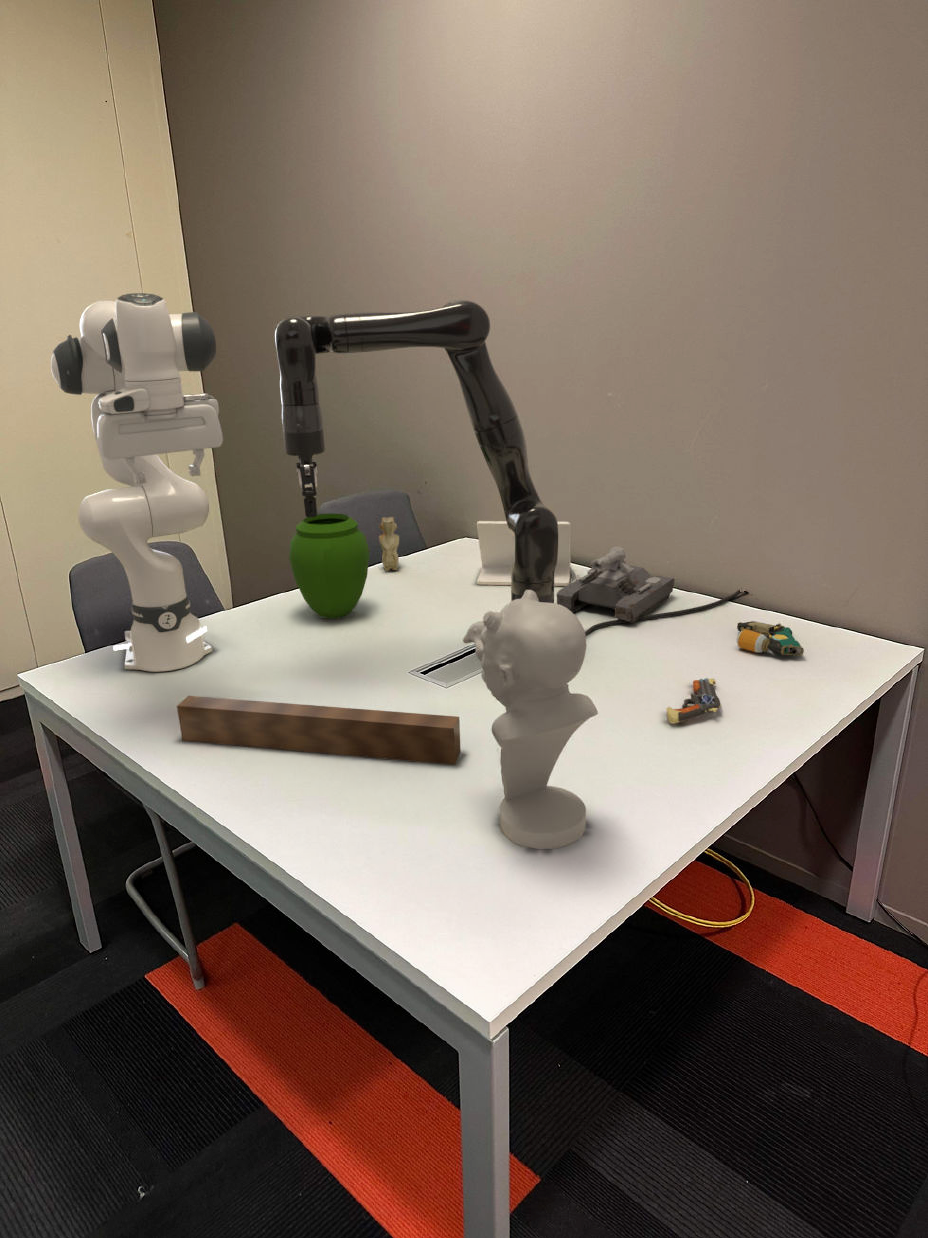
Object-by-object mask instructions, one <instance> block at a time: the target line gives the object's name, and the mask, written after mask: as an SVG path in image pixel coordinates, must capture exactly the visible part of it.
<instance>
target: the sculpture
mask: <svg viewBox="0 0 928 1238" xmlns="http://www.w3.org/2000/svg"><path fill="white" fill-rule="evenodd" d="M378 526H379V527H378V528H379V529H380V530H381V531H382V532H383V534H380V535H379V536H378V541H379V544H380V548H381V549H382V554H381V563H382V566H383V568H384V571H385V572H386V571H387V572H388V571H390V570H391V569H392V571H397V570H398V566H399V560H400V559H399V558H400V557H399V554H398V551H397V550H398V547H399V544H400V535H398V534H397V533H395V531H396V530H397V528H398V525H397V523H396V522H395V518H394V516H389V517H385V516H383V517H381V523H380V524H379V525H378Z"/></svg>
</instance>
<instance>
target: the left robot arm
mask: <svg viewBox="0 0 928 1238" xmlns="http://www.w3.org/2000/svg"><path fill="white" fill-rule="evenodd" d="M79 332H80V336H79V337H77V336H75V337H72V335H71V334H69V335H67V336H66V340H63V341H61V342H60V343H58V344H57V345H56V346H55V348H54V349H53V350H52V356H51V359H50V370H51V374H52V376H53V379H54V381H55V382H56V383H57V386H58V387H59V389H61V391H63V392H64V393H65V394H70V395H75V396H76V395H79V396H82V394H88V395H89V394H90V395H92V394H93V395H96V396H94V398H93V400H92V402H91V406H90V415H91V426H92V431H93V435H94V439H95V443H96V447H97V451H98V453H99V457H100V460H101V464H102V467H103V469H104V471H105V473H107V475H108V476H109V477H110V478H112V480H114V481H116V482H118V483H120V484H122V485H123V484H124V485H126V487H125V486H124V487H119V488H109V489H105V490H102V491H98V492H95V493H92V494H90V495H87V496H85V497H84V498H83V499H82V501H81V503H80V506H79V507H78V515H77V517H78V523H79V526H80V528H81V530H82V532H83V533H84V534H85V536H86V537H88V539H90V540H91V541H92V542H94V543H95V544H98V545H100V546H102V547H104V548H106V549H107V550H109V551H110V552H111V553H112V554H113V555H114V556H115V557H116V558H117V560H118V561H119V562H120V564H121V565H122V567H123V569H124V571H125V575H126V578H127V581H128V584H129V589H130V594H131V599H132V601H131V603H130V605H131V608H130V610H131V615H132V619H133V621H132V624H131V626H130V630H125V631H124V638H125V642H127V643H125V644H118V645H114V646H112V648H113V651H119V650H125V658H124V670H130V671H131V670H139V671H144V672H153V673H159V672H169V671H175V670H176V671H177V670H179V669H184V668H187V667H190V666H192V665H194V664H196V663H197V662H199V661H200V660H201V659H203V657H205V656H206V655H209V654H210V653H212V652H213V650H214V649H213V646H212V645H211V644H209V643H207V642H205V641H204V637H203V634H204V633H207V632H208V629H207V626H203V627H201V622H200V621H201V620H200V619H199V617H197V616H196V615H195V614H193V613H191V612H192V610H191V609H192V608H191V601H190V598H189V594H187V591H186V583H185V578H184V572H183V565H182V563H181V562H180V560H179V559H178V558H177V557H175V556H174V555H172V554H170V553H167V552H164V551H161V550H157V549H155V548H152V547H150V546H149V544H148V540H149V539H152V538H158V537H159V538H160V537H163V536H164V537H165V536H171V535H179V534H184V533H187V532H190V531H193V530H195V529H198V528H201V527H202V526H203V525H204V524H205V523H206V521H207V519H208V517H209V513H210V502H209V499H208V497H207V495H206V492H205V491H204V490H203V489H202V488H201V486H199V485H198V484H197V483H195V482H194V481H193V482H192V481H190V480H189V479H185V478H183V477H181V476H179V475H178V474H176V472H174V471H172V470H171V469H170V468H168V466H166V464H165V463H164V462H163V461H162V460H161V458H160V456H159V455H162V454H172V453H179V452H189V451H192V454H193V455H194V456H195V457H194V460H193V463H192V464H189V465H187V466H188V470H189V471H188V473H189V476H190V477H199V476H200V477H201V474H202V473H201V465H202V463H203V460H204V458H205V455H206V454H205V450H206V449H214V448H215V449H216V448H220V447H221V446H222V444H223V442H224V436H223V431H222V427H221V423H220V419H219V415H220V408H219V402H218V399H216V398H215V396H213V395H210V394H209V393H208V392H203V393H197V394H196V393H188V394H184V392H183V386H182V385H183V384H182V378H181V374H180V372H200V373H201V372H204V371H205V370H206V369H207V368H209V366H210V365H211V364H212V363H213V361H214V359H215V358H216V354H217V342H216V337H215V332H214V330H213V327H212V325H211V323H210V322H209V321H208V320H206V319H205V318H204V317H203V316H202V315H200V314H199V313H198V312H196V311H190V312H181V313H170V312H169V309H168V305H167V302H166V300H165V299H164V298H163V297H161V296H160V295H157V294H154V293H147V292H146V293H145V292H131V293H126V294H122V295H119V296H118V297H117V298H116V299H115V301H113V300H99V301H95V302H94V303H92V304H90V305H89V306H87V307H86V308H85V309H84V311H83V312H82V314H81V316H80V319H79Z"/></svg>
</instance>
